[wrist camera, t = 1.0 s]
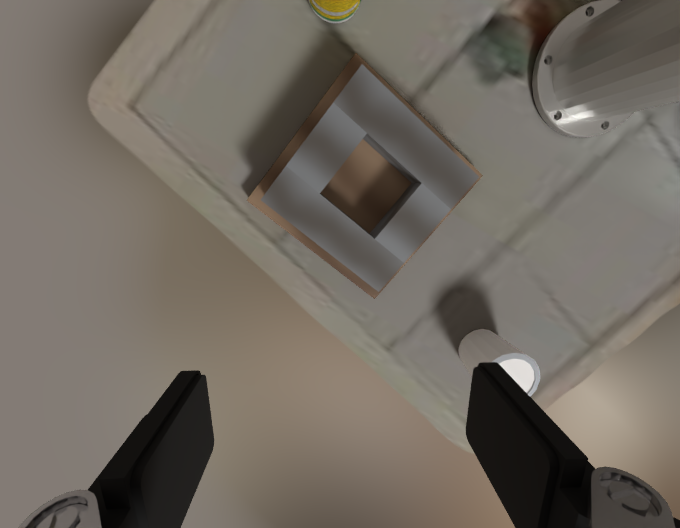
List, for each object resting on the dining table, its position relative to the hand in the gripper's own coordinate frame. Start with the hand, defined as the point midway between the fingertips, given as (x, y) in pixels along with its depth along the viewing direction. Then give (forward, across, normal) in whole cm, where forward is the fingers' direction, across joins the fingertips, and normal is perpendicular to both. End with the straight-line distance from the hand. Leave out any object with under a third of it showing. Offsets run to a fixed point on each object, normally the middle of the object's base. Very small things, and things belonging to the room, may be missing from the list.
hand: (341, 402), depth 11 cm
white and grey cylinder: (+27, -19, +14) cm, 36 cm away
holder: (+26, -4, -7) cm, 28 cm away
